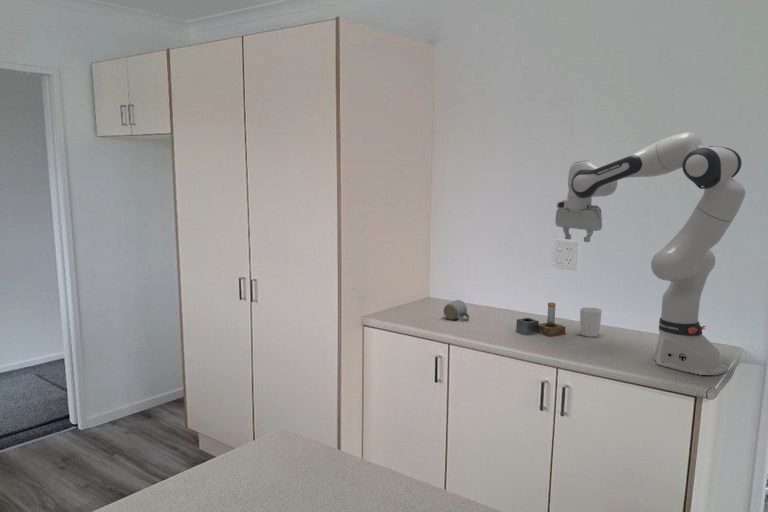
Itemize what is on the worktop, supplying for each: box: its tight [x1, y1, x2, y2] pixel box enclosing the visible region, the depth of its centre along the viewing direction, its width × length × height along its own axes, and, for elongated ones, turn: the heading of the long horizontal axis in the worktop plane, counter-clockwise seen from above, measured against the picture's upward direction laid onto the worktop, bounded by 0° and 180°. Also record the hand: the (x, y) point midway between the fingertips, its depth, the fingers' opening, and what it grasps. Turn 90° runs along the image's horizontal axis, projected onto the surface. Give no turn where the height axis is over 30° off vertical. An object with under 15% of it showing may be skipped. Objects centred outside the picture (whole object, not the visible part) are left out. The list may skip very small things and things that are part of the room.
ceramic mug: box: [443, 299, 470, 322], centre depth 254 cm, size 11×8×8 cm
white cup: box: [579, 306, 603, 338], centre depth 230 cm, size 8×8×10 cm
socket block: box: [515, 317, 540, 336], centre depth 233 cm, size 6×6×5 cm
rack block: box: [537, 322, 567, 338], centre depth 232 cm, size 8×8×3 cm
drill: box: [546, 302, 556, 327], centre depth 231 cm, size 3×3×12 cm
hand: (577, 240), depth 225 cm, fingers open, 8 cm apart
